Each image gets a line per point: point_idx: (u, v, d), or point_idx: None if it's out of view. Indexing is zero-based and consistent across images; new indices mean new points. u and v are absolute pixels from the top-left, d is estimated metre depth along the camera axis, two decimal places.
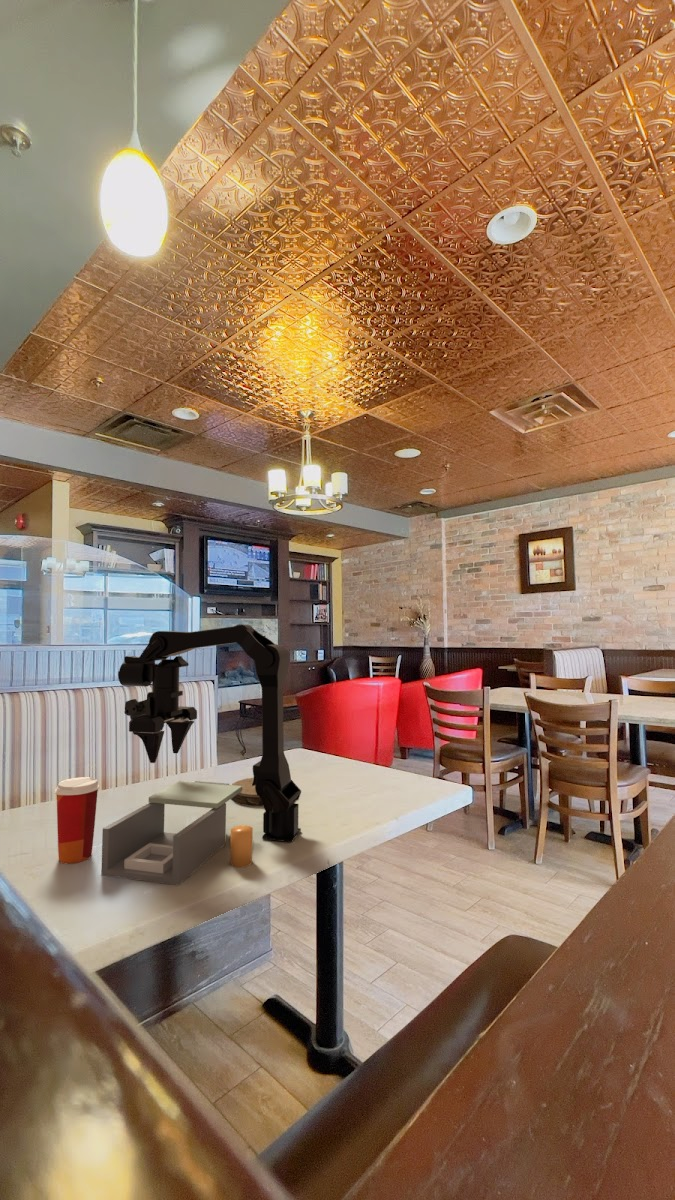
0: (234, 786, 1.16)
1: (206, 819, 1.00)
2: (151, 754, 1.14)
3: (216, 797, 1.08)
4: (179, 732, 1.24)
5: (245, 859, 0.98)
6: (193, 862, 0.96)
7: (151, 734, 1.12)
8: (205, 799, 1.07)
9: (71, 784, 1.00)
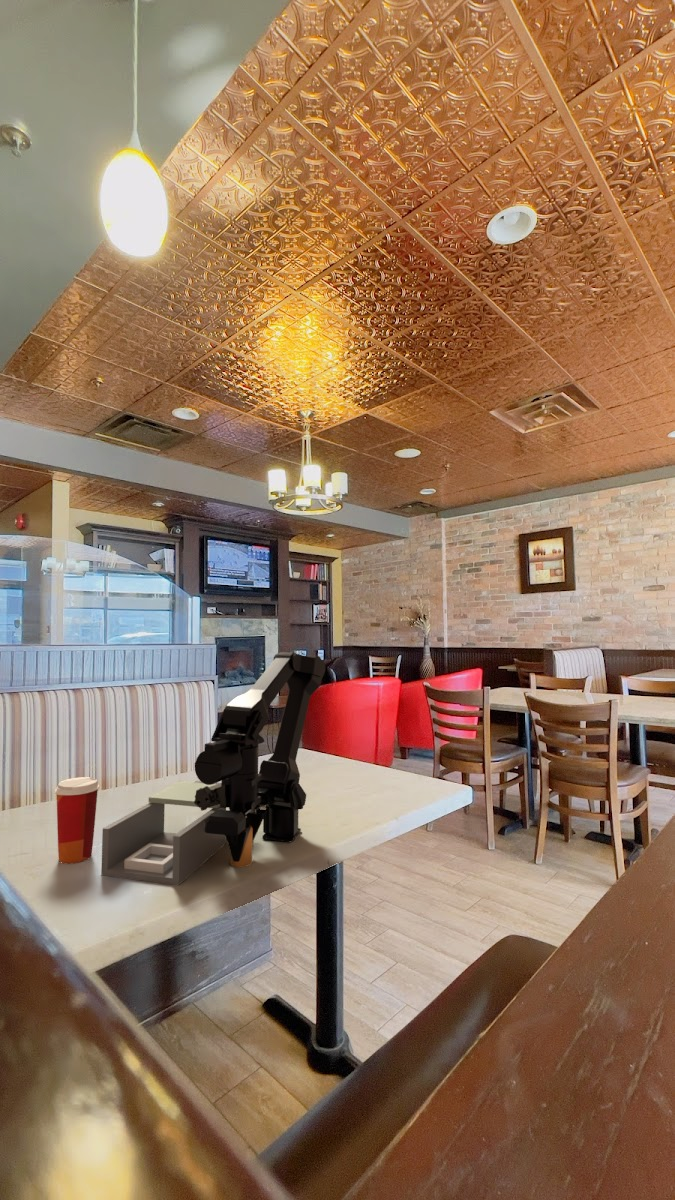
0: None
1: None
2: (235, 852, 0.97)
3: None
4: (250, 826, 1.02)
5: (245, 859, 0.98)
6: (193, 862, 0.96)
7: None
8: None
9: (71, 784, 1.00)
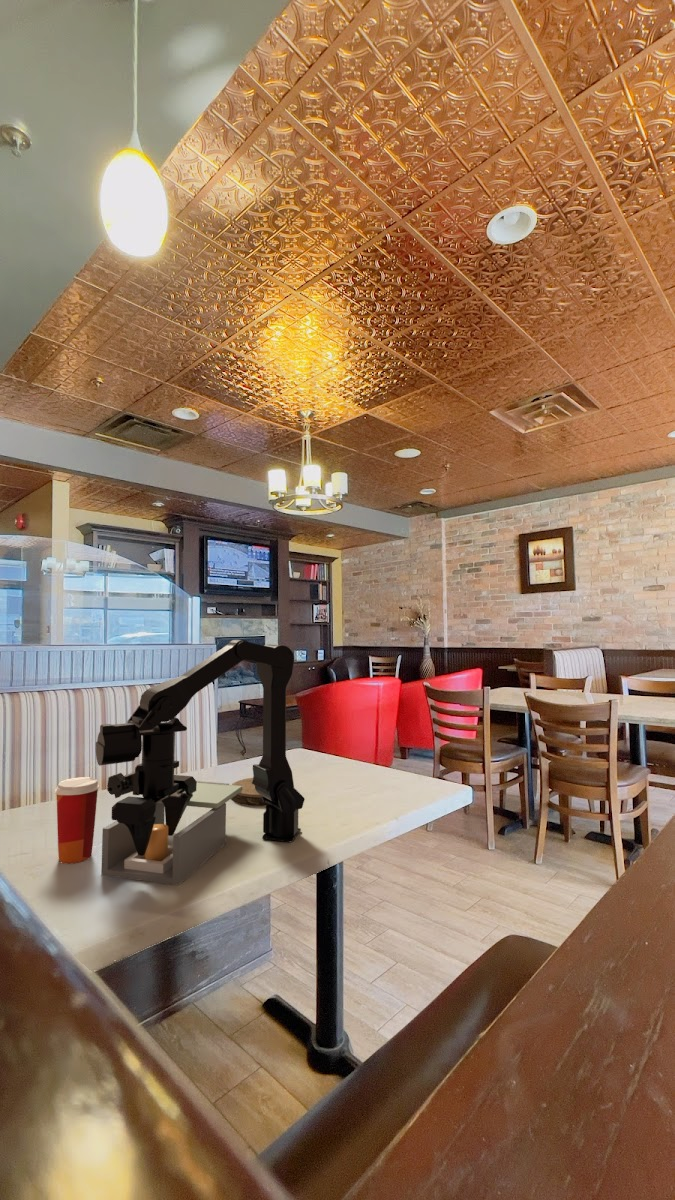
0: (234, 786, 1.16)
1: (206, 819, 1.00)
2: (139, 845, 0.92)
3: (216, 797, 1.08)
4: (175, 809, 1.02)
5: (159, 858, 0.96)
6: (193, 862, 0.96)
7: (139, 823, 0.90)
8: (205, 799, 1.07)
9: (71, 784, 1.00)
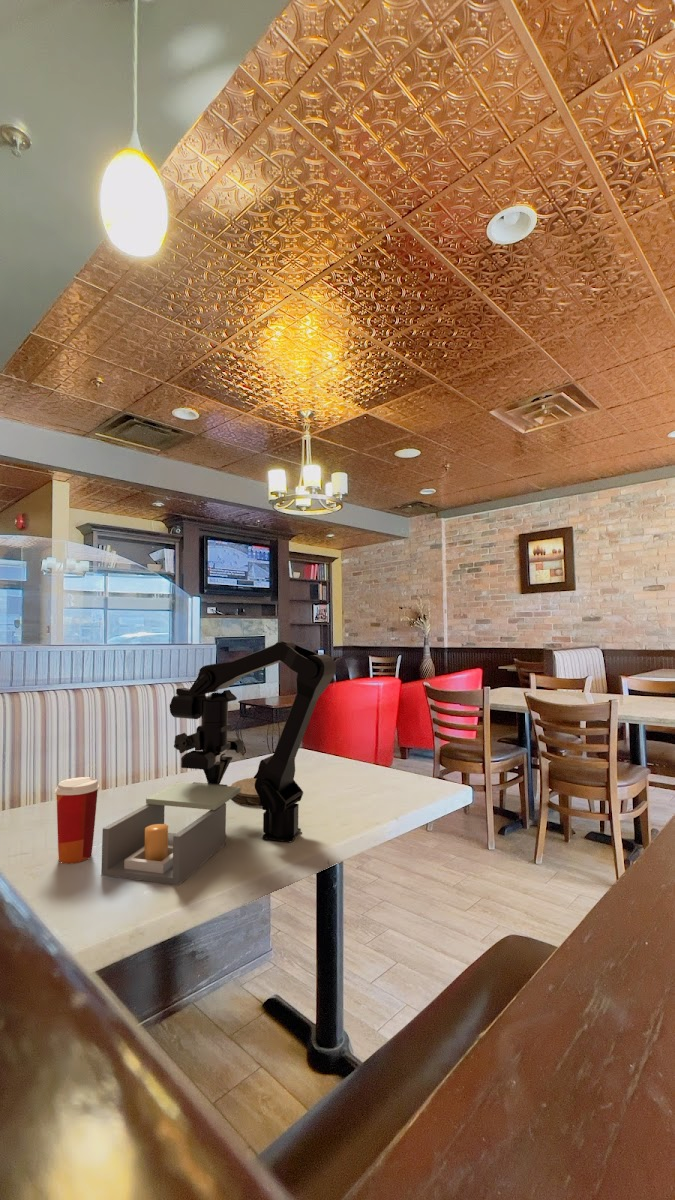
0: (232, 788, 1.15)
1: (206, 819, 1.00)
2: None
3: (214, 798, 1.07)
4: None
5: (159, 858, 0.96)
6: (193, 862, 0.96)
7: (213, 765, 1.16)
8: (202, 801, 1.06)
9: (71, 784, 1.00)
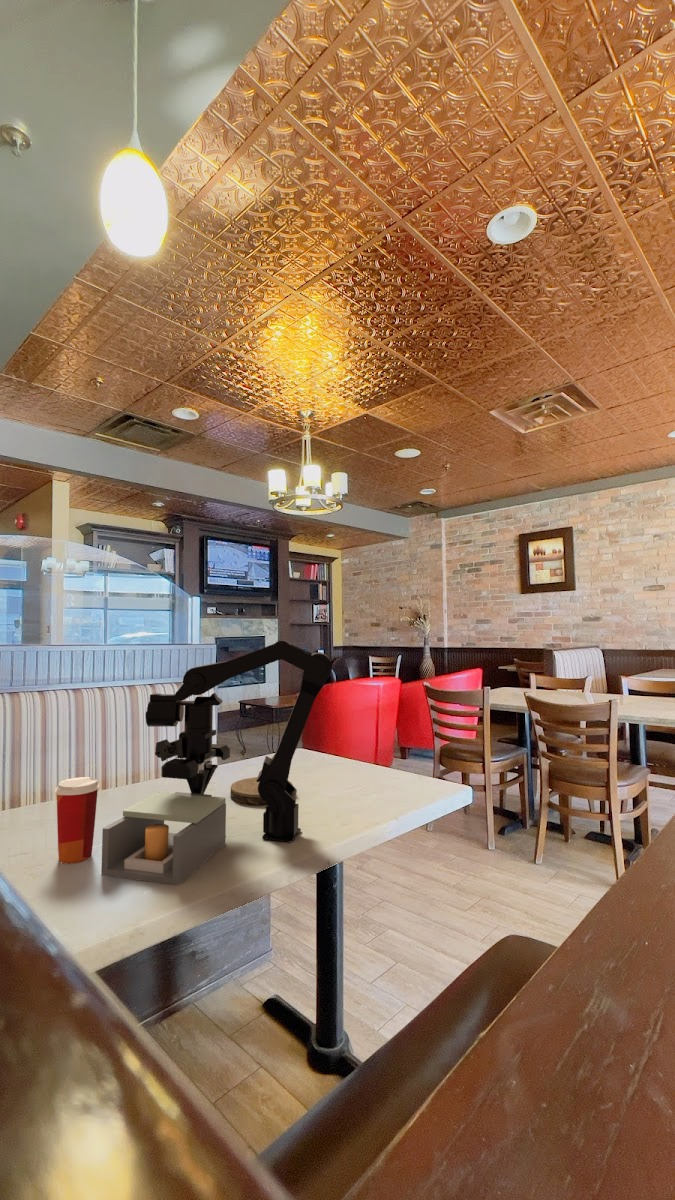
0: (216, 798, 1.08)
1: (206, 819, 1.00)
2: (195, 793, 1.11)
3: (196, 810, 1.00)
4: None
5: (159, 859, 0.96)
6: (193, 862, 0.96)
7: (196, 774, 1.09)
8: (183, 813, 0.99)
9: (71, 784, 1.00)
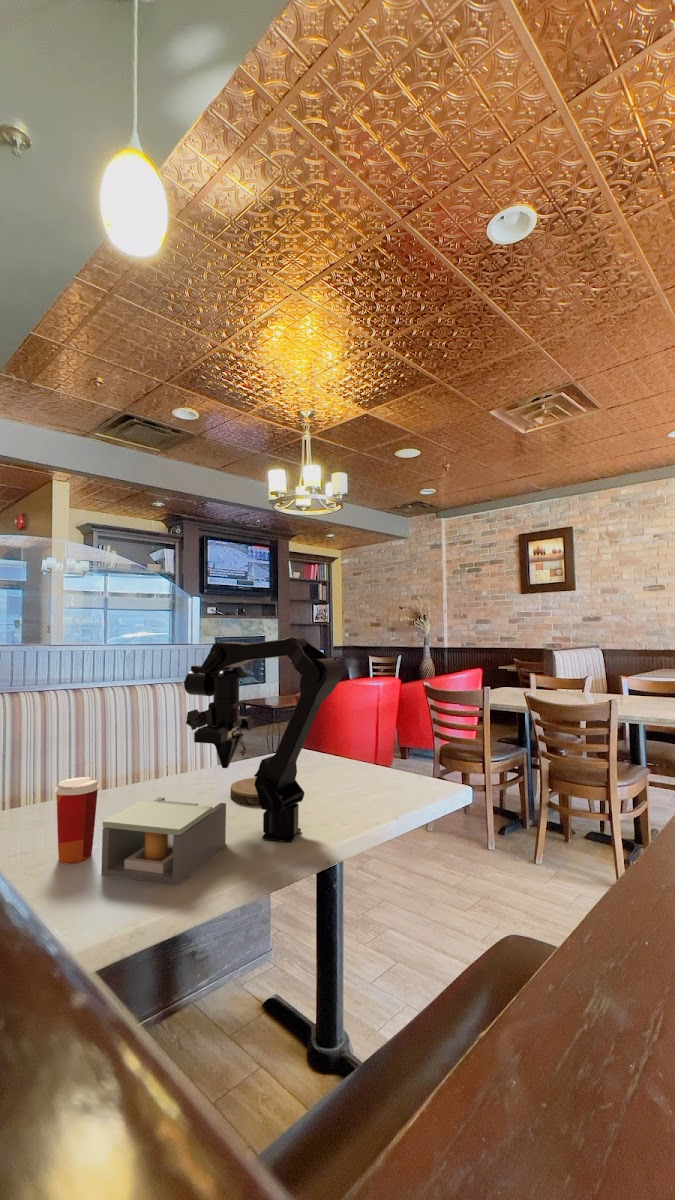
0: (203, 807, 1.02)
1: (206, 819, 1.00)
2: (223, 760, 1.20)
3: (180, 821, 0.95)
4: None
5: (158, 859, 0.96)
6: (193, 862, 0.96)
7: (225, 741, 1.17)
8: (166, 824, 0.93)
9: (71, 784, 1.00)
